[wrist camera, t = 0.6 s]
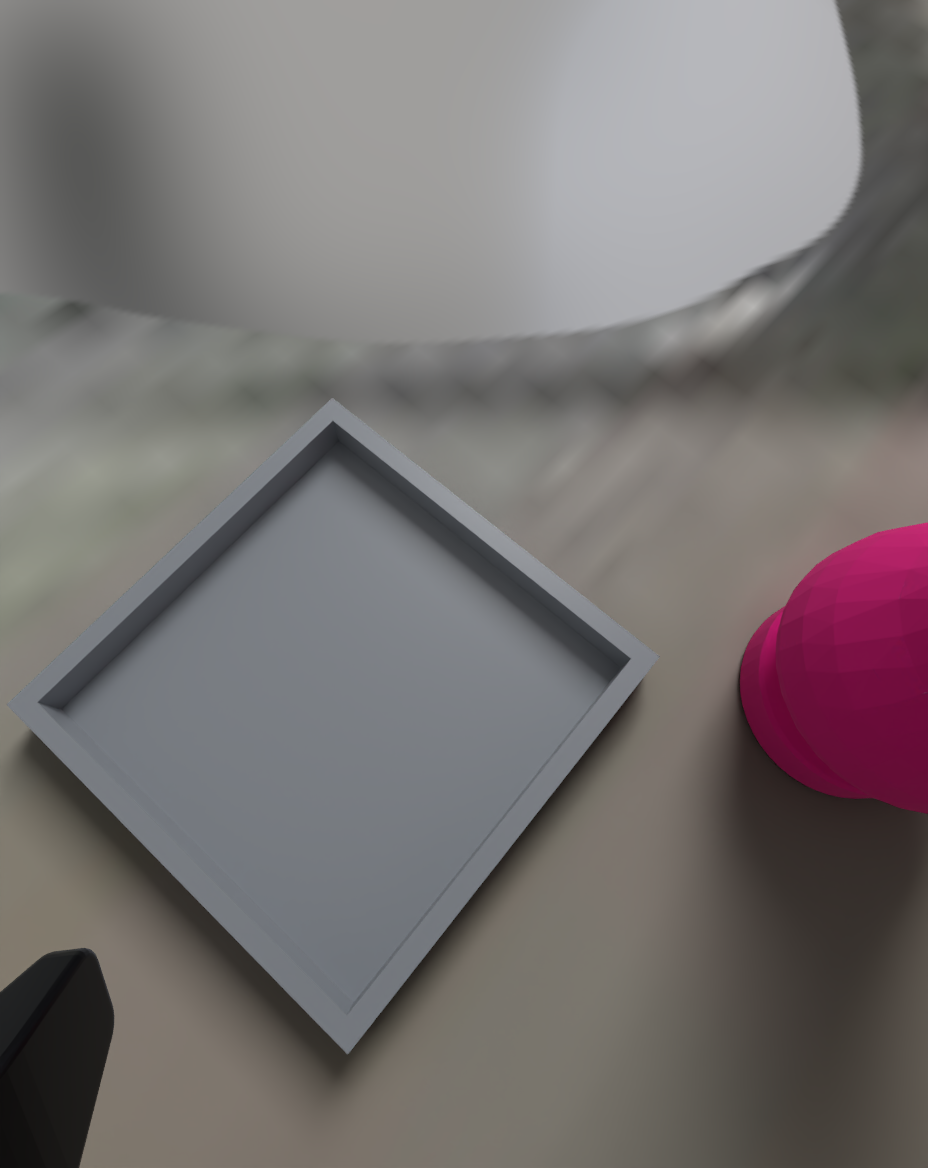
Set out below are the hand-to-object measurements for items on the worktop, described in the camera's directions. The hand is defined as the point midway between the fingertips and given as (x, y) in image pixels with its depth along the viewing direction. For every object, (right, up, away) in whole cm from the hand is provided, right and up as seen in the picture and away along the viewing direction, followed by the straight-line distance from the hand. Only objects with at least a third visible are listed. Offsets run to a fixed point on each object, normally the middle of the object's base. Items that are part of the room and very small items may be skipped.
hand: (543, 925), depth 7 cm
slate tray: (-4, 0, +15) cm, 16 cm away
